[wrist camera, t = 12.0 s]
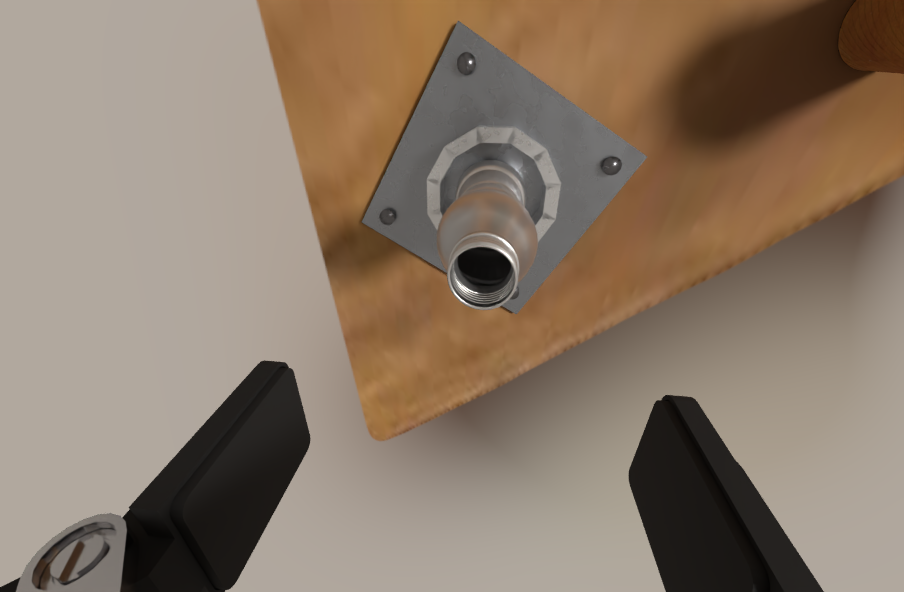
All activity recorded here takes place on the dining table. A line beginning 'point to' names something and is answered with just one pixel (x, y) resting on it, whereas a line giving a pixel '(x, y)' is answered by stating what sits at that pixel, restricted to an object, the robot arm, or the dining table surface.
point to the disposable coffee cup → (874, 36)
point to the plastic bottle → (487, 236)
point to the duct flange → (499, 156)
